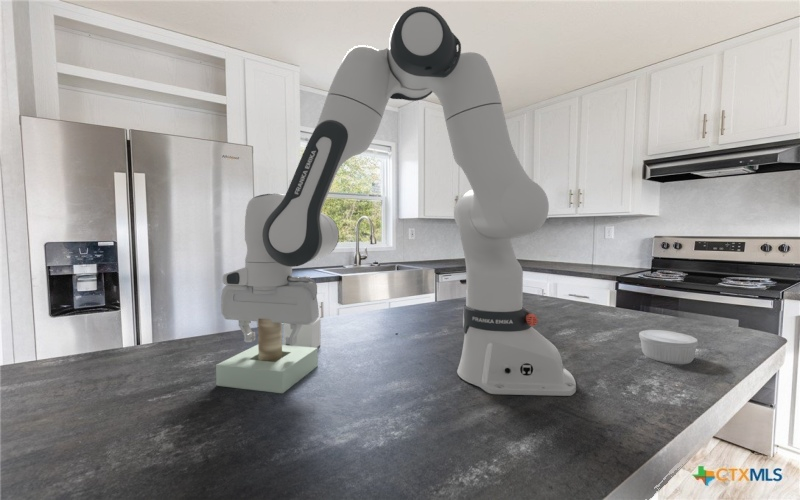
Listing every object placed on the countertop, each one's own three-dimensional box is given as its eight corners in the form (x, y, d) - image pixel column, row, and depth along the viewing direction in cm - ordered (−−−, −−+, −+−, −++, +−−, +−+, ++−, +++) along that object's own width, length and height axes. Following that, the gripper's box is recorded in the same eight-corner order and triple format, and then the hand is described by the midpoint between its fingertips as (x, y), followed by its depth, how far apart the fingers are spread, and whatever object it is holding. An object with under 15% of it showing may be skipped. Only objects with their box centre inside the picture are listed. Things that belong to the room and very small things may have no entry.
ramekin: (644, 362, 83) (645, 339, 83) (633, 348, 93) (634, 327, 93) (705, 369, 79) (706, 345, 78) (687, 353, 89) (688, 332, 89)
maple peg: (286, 372, 76) (285, 315, 76) (274, 380, 72) (273, 320, 71) (267, 370, 77) (266, 313, 77) (254, 378, 73) (253, 318, 72)
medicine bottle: (321, 344, 95) (320, 298, 94) (311, 353, 88) (311, 304, 87) (294, 343, 95) (293, 298, 95) (283, 352, 88) (282, 303, 88)
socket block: (317, 365, 80) (317, 347, 79) (282, 393, 66) (282, 371, 66) (260, 360, 83) (260, 343, 83) (216, 385, 69) (216, 364, 69)
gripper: (323, 275, 74) (324, 342, 75) (236, 272, 79) (237, 335, 80) (309, 279, 68) (309, 352, 69) (215, 275, 73) (216, 344, 73)
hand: (270, 343), depth 74 cm, fingers open, 8 cm apart
